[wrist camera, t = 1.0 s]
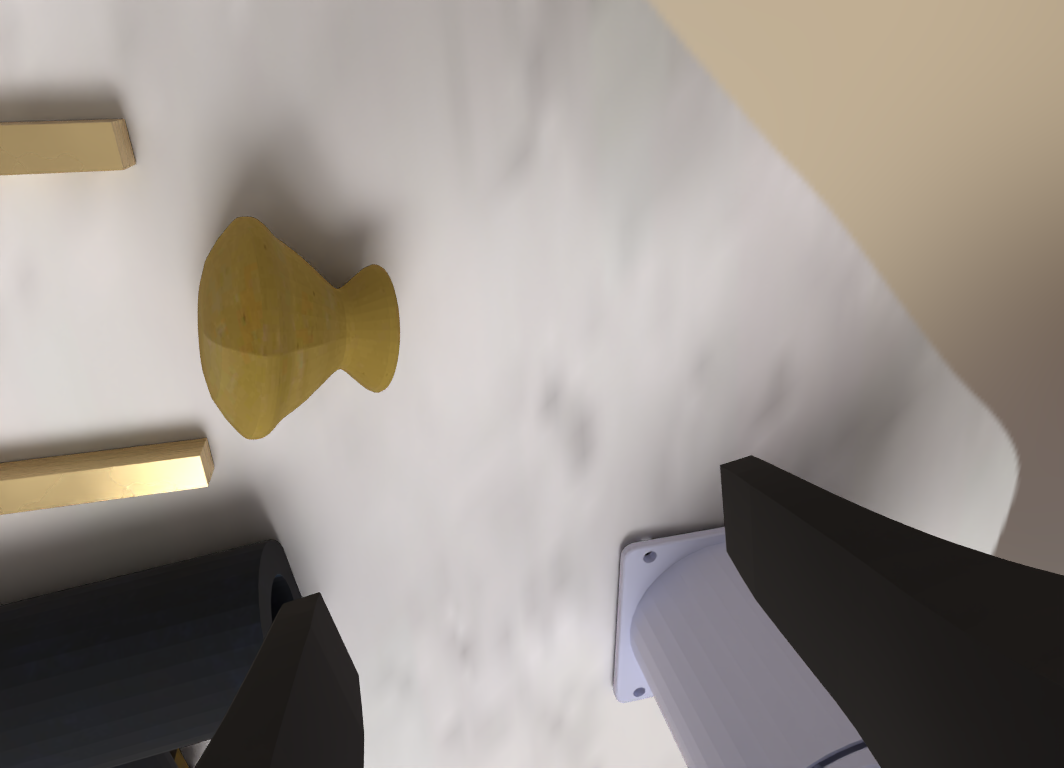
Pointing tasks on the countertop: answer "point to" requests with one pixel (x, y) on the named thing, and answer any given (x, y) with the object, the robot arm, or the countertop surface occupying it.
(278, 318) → the knob
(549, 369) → the countertop surface
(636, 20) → the countertop surface
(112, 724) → the pipe connector
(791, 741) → the robot arm
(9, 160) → the u-shaped bracket
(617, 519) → the countertop surface
